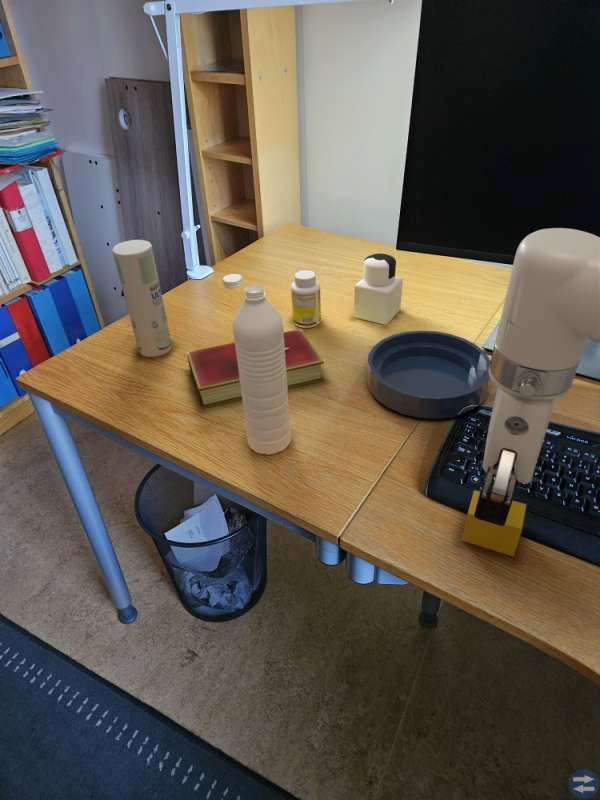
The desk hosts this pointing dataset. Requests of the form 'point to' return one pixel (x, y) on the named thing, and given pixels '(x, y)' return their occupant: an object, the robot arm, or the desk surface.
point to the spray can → (143, 296)
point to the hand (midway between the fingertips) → (496, 489)
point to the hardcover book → (221, 374)
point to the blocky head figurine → (378, 290)
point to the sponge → (495, 529)
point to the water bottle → (261, 369)
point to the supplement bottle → (306, 299)
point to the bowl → (428, 373)
